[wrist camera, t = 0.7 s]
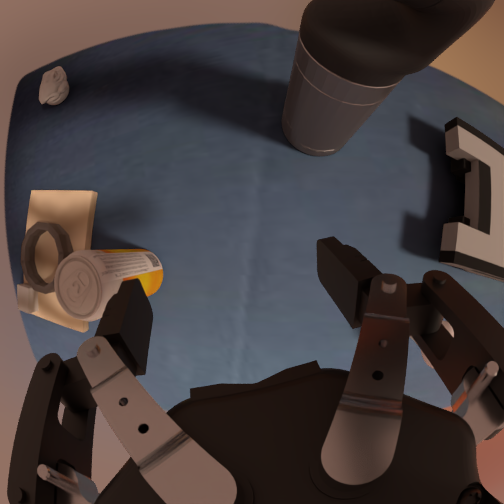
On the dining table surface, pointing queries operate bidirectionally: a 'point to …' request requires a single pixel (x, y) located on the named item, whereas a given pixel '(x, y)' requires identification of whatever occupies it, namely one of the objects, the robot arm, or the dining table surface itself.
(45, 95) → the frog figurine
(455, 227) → the game console
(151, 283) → the beer can
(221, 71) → the dining table surface
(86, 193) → the board
